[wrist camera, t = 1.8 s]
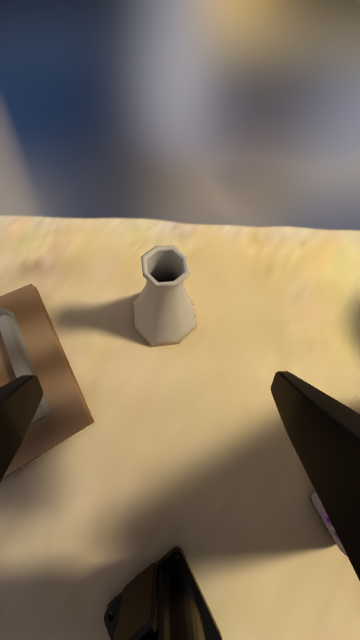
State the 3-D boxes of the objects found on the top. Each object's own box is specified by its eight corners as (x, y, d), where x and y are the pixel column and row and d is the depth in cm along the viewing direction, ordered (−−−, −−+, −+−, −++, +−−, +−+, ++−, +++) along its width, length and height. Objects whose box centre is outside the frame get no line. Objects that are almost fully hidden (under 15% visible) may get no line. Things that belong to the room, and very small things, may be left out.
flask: (148, 358, 20) (134, 336, 11) (123, 301, 22) (92, 239, 13) (207, 330, 22) (239, 289, 13) (179, 278, 24) (189, 209, 14)
